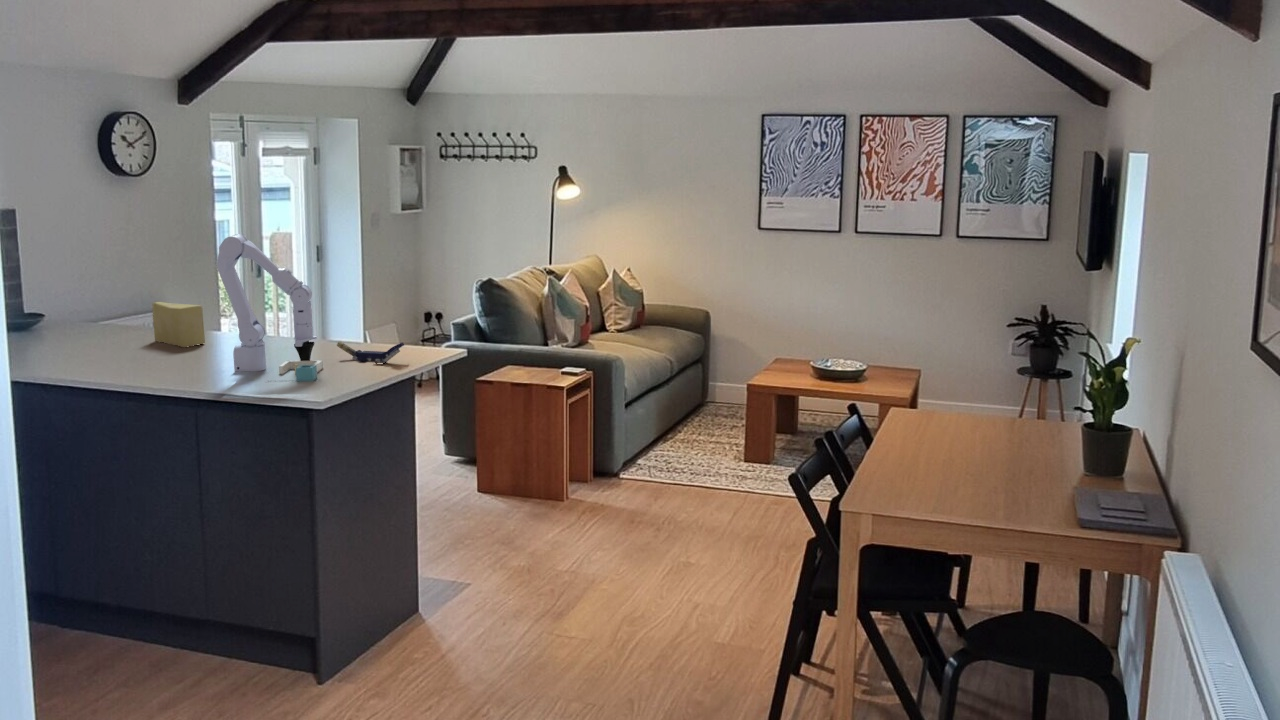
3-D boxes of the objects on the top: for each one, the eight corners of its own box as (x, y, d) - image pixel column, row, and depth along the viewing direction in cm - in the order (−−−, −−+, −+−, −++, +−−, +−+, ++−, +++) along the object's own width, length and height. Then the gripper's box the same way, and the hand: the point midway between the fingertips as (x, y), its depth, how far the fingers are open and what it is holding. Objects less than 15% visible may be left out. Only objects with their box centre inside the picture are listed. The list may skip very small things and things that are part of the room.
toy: (390, 375, 375) (395, 346, 373) (328, 358, 378) (333, 329, 376) (402, 369, 384) (407, 341, 382) (342, 353, 388) (346, 324, 385)
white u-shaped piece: (279, 374, 358) (278, 366, 357) (287, 368, 366) (286, 360, 366) (315, 373, 358) (315, 365, 357) (322, 368, 367) (322, 360, 366)
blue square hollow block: (296, 381, 347) (295, 368, 347) (300, 377, 352) (300, 365, 351) (313, 380, 347) (312, 368, 347) (317, 377, 352) (316, 364, 352)
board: (264, 385, 347) (263, 372, 346) (289, 367, 374) (288, 355, 373) (321, 384, 347) (320, 371, 346) (341, 366, 374) (340, 354, 373)
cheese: (144, 343, 421) (141, 303, 418) (167, 339, 429) (164, 300, 426) (183, 348, 409) (180, 307, 406) (206, 344, 417) (203, 304, 415)
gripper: (310, 326, 358) (312, 369, 360) (321, 319, 372) (323, 360, 375) (287, 326, 358) (290, 369, 360) (299, 319, 372) (301, 360, 374)
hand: (305, 364), depth 367 cm, fingers closed
